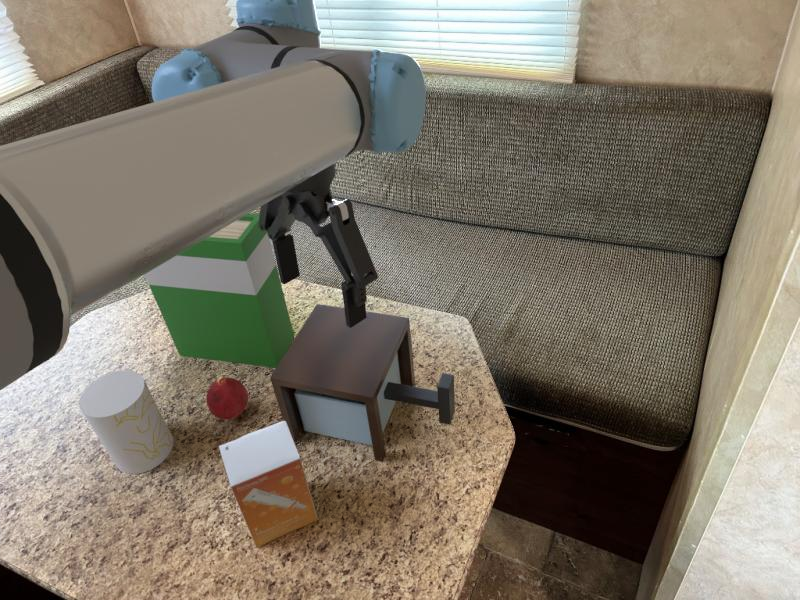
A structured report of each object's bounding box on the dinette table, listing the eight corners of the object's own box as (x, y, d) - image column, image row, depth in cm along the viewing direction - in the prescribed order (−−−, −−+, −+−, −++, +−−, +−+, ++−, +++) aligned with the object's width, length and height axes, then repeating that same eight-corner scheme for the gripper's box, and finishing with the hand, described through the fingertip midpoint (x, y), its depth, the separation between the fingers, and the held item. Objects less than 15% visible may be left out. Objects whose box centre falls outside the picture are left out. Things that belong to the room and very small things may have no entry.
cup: (150, 480, 82) (117, 423, 74) (102, 466, 84) (65, 410, 77) (184, 433, 88) (157, 376, 80) (138, 421, 90) (107, 365, 83)
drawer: (462, 399, 88) (461, 352, 82) (443, 461, 80) (440, 414, 74) (334, 375, 94) (324, 330, 88) (304, 431, 86) (291, 385, 80)
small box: (256, 549, 73) (228, 487, 65) (244, 507, 78) (216, 444, 69) (320, 521, 75) (300, 457, 67) (304, 481, 80) (284, 418, 72)
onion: (233, 436, 87) (218, 399, 82) (205, 421, 89) (189, 384, 84) (261, 409, 90) (248, 371, 85) (234, 394, 93) (220, 358, 88)
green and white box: (179, 355, 101) (127, 234, 85) (200, 326, 106) (155, 207, 91) (277, 368, 97) (240, 243, 81) (294, 336, 102) (262, 214, 87)
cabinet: (415, 381, 92) (409, 317, 84) (383, 462, 81) (372, 397, 73) (330, 366, 96) (316, 303, 88) (289, 441, 85) (269, 377, 77)
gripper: (403, 167, 61) (410, 326, 74) (260, 110, 75) (287, 252, 89) (347, 194, 57) (365, 358, 70) (207, 128, 71) (244, 275, 84)
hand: (322, 299), depth 79 cm, fingers open, 13 cm apart
